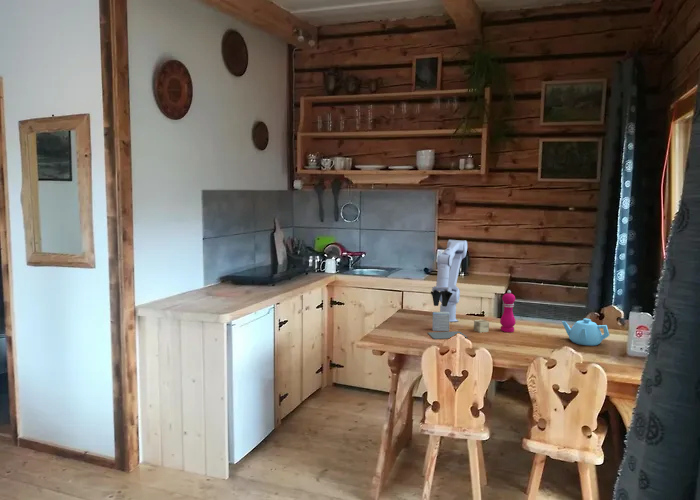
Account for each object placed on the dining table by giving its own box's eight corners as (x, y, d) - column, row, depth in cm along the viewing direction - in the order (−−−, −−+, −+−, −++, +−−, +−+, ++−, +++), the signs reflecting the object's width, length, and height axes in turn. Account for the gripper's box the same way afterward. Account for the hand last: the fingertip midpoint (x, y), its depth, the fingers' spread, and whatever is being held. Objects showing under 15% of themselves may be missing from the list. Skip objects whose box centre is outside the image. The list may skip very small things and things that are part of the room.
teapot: (580, 348, 239) (582, 324, 238) (559, 338, 254) (561, 315, 252) (610, 346, 243) (612, 322, 241) (588, 336, 257) (590, 314, 256)
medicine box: (448, 329, 268) (449, 311, 267) (449, 331, 264) (449, 313, 263) (432, 328, 269) (432, 311, 268) (432, 331, 265) (433, 313, 263)
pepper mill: (498, 331, 264) (500, 290, 262) (500, 328, 271) (502, 288, 268) (514, 333, 261) (516, 292, 259) (515, 329, 268) (517, 289, 266)
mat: (427, 333, 260) (427, 332, 260) (459, 332, 263) (459, 331, 263) (433, 339, 250) (433, 338, 250) (467, 338, 253) (467, 337, 253)
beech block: (473, 330, 266) (474, 320, 266) (482, 329, 268) (482, 319, 268) (479, 333, 262) (480, 322, 261) (488, 331, 264) (488, 321, 263)
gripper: (428, 277, 276) (425, 304, 274) (444, 277, 262) (441, 305, 261) (440, 279, 278) (437, 306, 277) (456, 279, 265) (453, 307, 263)
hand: (440, 306), depth 269 cm, fingers open, 7 cm apart
